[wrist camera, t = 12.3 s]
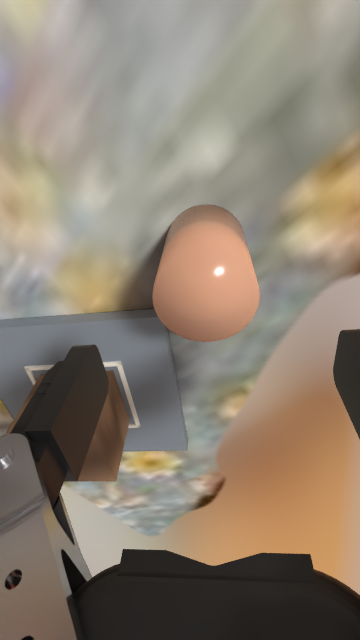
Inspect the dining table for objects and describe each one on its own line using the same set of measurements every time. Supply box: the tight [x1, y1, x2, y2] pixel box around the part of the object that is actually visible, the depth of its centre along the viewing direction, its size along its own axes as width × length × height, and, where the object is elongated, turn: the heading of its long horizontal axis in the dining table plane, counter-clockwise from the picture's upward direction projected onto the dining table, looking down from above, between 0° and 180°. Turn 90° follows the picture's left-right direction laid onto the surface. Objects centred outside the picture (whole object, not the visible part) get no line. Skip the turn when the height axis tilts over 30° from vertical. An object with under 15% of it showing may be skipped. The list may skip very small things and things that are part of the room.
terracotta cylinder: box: [152, 205, 260, 342], centre depth 16 cm, size 4×4×6 cm
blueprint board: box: [0, 309, 188, 452], centre depth 25 cm, size 14×14×1 cm
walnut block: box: [7, 370, 130, 481], centre depth 23 cm, size 6×6×5 cm
